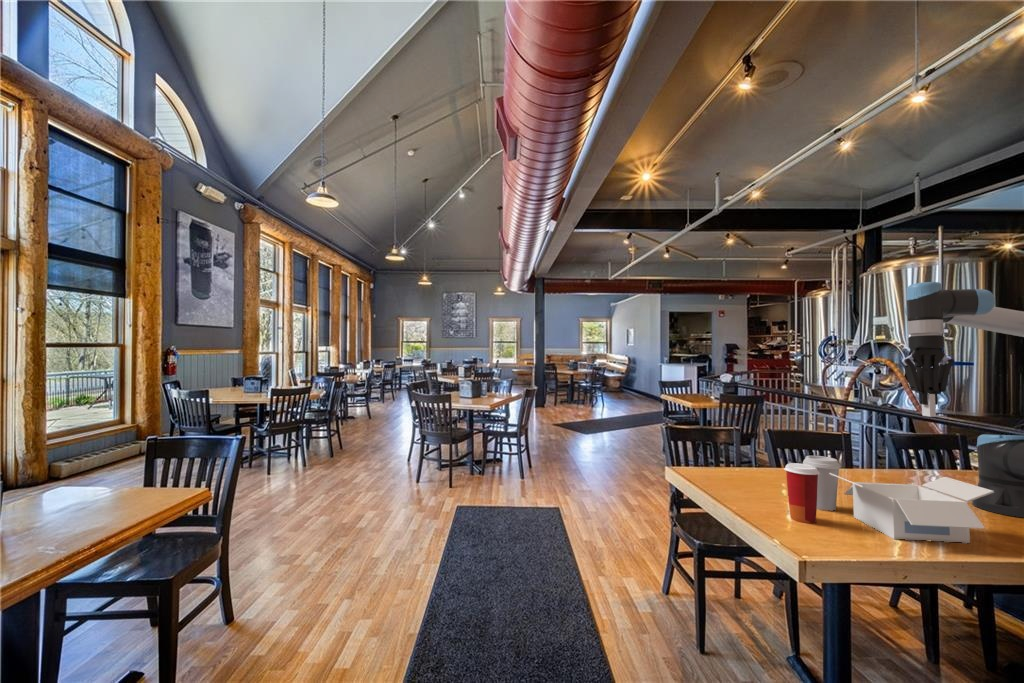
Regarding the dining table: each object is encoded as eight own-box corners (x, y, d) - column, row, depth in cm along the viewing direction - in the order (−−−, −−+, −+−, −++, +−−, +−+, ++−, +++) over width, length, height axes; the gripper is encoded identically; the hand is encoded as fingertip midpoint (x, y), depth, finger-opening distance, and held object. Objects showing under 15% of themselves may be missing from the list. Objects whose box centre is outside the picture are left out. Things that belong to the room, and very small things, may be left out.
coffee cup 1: (817, 517, 121) (815, 464, 122) (824, 526, 114) (822, 470, 115) (782, 512, 125) (781, 461, 126) (787, 521, 118) (786, 467, 118)
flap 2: (921, 485, 119) (922, 486, 119) (967, 500, 105) (968, 502, 105) (944, 476, 118) (945, 477, 118) (993, 490, 105) (994, 492, 105)
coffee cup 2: (832, 503, 133) (830, 456, 134) (849, 514, 124) (847, 462, 125) (798, 501, 136) (797, 454, 136) (812, 511, 126) (810, 460, 127)
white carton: (905, 515, 124) (904, 480, 124) (989, 552, 99) (987, 508, 100) (842, 512, 126) (841, 477, 126) (909, 547, 101) (908, 504, 102)
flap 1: (829, 472, 122) (829, 473, 122) (862, 485, 108) (862, 487, 108) (852, 482, 121) (852, 483, 121) (888, 496, 108) (888, 498, 108)
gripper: (939, 336, 127) (942, 415, 125) (891, 336, 128) (894, 414, 127) (962, 334, 119) (966, 418, 118) (911, 334, 121) (914, 417, 119)
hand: (929, 416), depth 122 cm, fingers closed
